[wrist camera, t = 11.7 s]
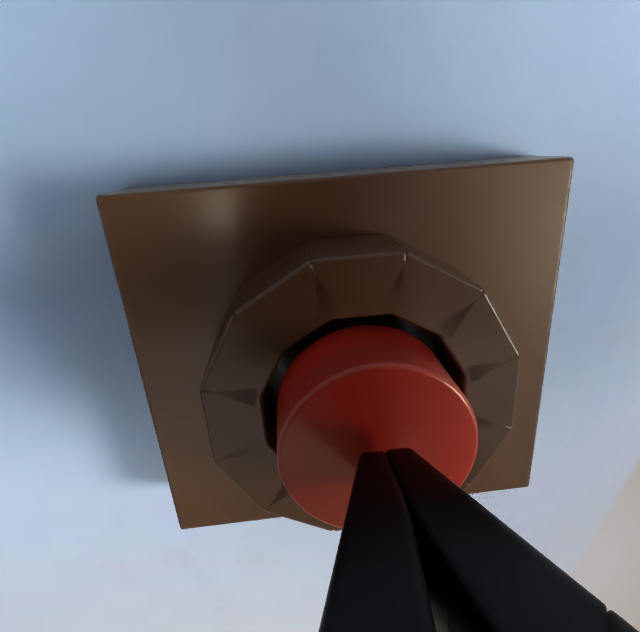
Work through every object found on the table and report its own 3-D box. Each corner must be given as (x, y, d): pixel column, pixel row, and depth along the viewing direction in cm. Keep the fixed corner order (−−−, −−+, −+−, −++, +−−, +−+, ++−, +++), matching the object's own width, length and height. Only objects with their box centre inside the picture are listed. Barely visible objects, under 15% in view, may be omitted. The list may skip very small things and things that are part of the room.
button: (448, 314, 9) (487, 353, 7) (441, 459, 10) (474, 521, 8) (268, 332, 8) (264, 377, 7) (285, 477, 10) (287, 544, 8)
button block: (532, 155, 11) (643, 158, 7) (501, 449, 14) (568, 540, 11) (122, 188, 10) (48, 207, 7) (191, 486, 13) (163, 593, 10)
